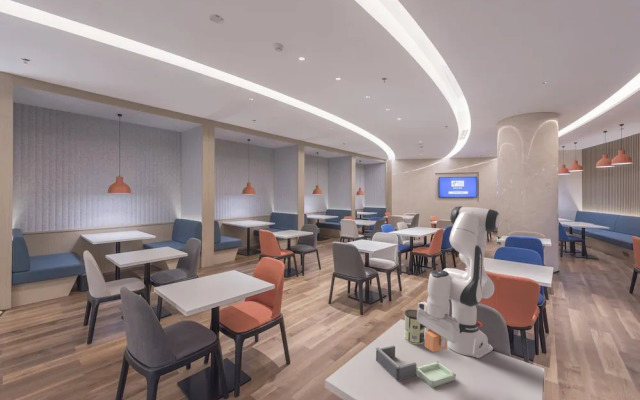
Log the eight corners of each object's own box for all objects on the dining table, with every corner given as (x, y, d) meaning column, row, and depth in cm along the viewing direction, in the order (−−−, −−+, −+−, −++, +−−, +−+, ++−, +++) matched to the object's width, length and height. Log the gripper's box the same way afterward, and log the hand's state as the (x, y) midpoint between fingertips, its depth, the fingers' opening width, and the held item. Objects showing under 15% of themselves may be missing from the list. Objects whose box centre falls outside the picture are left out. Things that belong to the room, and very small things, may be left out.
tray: (437, 366, 124) (437, 361, 124) (455, 380, 115) (455, 374, 115) (414, 373, 119) (415, 367, 119) (431, 387, 110) (432, 381, 110)
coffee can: (417, 334, 153) (419, 308, 153) (428, 344, 143) (429, 317, 143) (400, 335, 151) (401, 309, 151) (409, 345, 141) (410, 318, 141)
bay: (393, 355, 131) (394, 343, 131) (416, 375, 118) (416, 361, 117) (375, 360, 127) (376, 347, 127) (396, 380, 114) (397, 367, 113)
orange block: (439, 342, 120) (439, 329, 120) (447, 348, 116) (448, 334, 116) (424, 346, 117) (425, 332, 117) (432, 351, 113) (433, 337, 113)
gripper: (464, 319, 108) (463, 354, 108) (425, 300, 127) (424, 330, 127) (453, 321, 106) (451, 357, 106) (415, 301, 124) (413, 332, 125)
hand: (436, 342), depth 117 cm, fingers closed on orange block, 4 cm apart
